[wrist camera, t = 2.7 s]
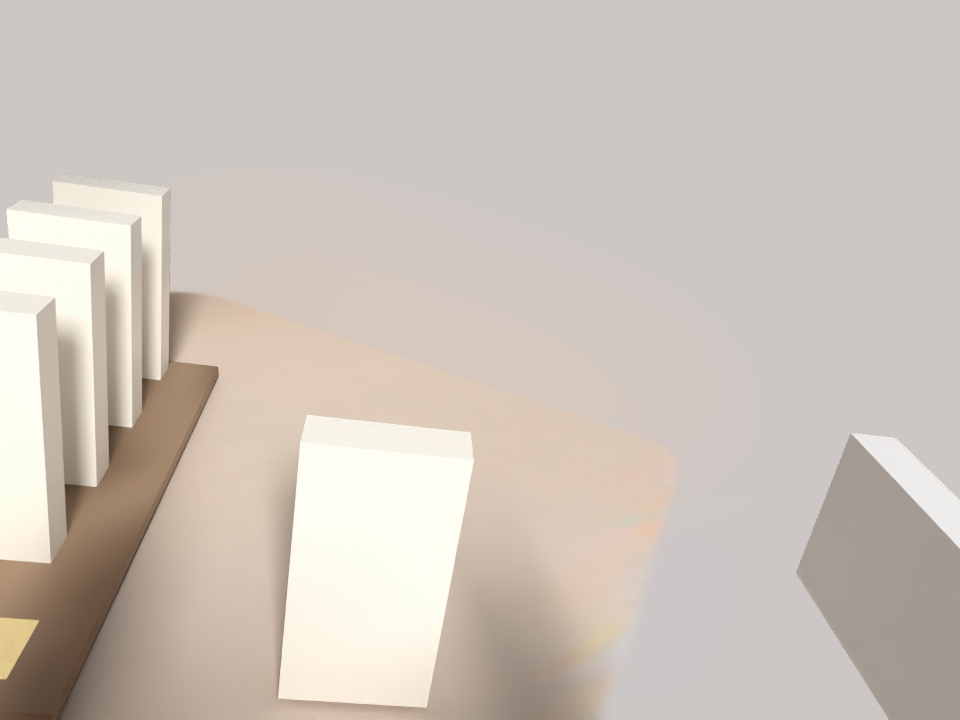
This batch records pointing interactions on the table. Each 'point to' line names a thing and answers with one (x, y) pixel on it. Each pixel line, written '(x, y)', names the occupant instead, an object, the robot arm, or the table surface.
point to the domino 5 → (371, 559)
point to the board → (92, 550)
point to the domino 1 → (121, 286)
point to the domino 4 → (155, 250)
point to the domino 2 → (71, 343)
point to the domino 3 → (30, 430)
